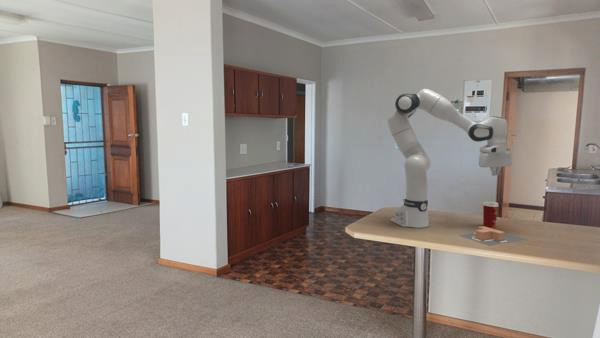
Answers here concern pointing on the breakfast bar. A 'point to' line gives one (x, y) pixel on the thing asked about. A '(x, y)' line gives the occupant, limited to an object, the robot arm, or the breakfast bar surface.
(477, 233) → the t block
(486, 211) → the paper cup
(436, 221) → the breakfast bar surface
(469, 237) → the board
